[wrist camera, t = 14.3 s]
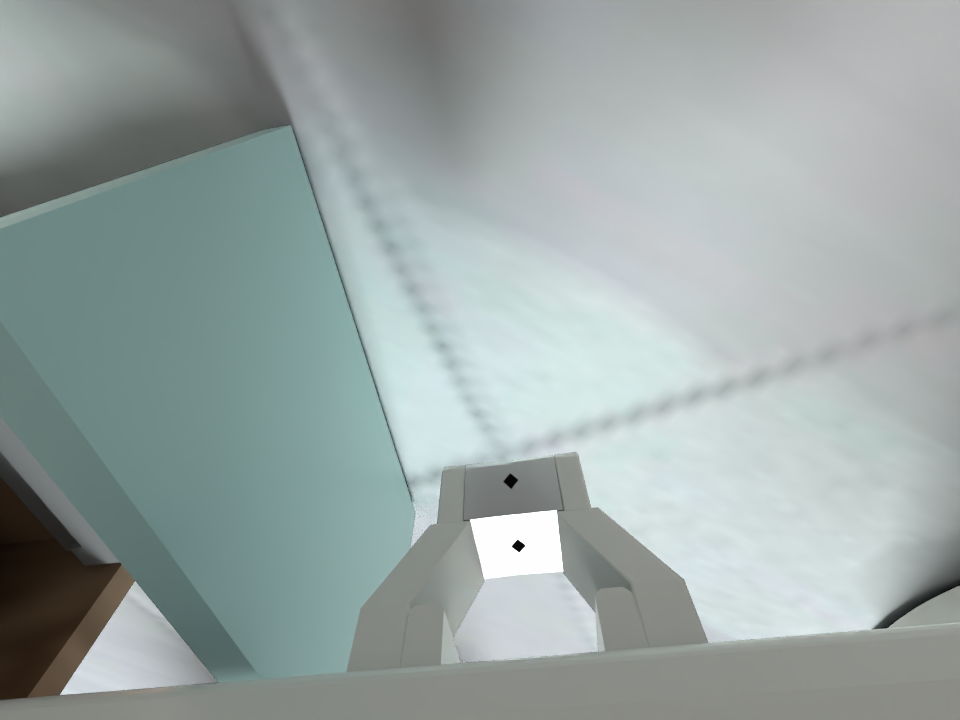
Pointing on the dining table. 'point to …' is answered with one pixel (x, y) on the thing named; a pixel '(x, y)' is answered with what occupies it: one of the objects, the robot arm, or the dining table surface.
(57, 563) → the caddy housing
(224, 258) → the tray
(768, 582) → the dining table surface
